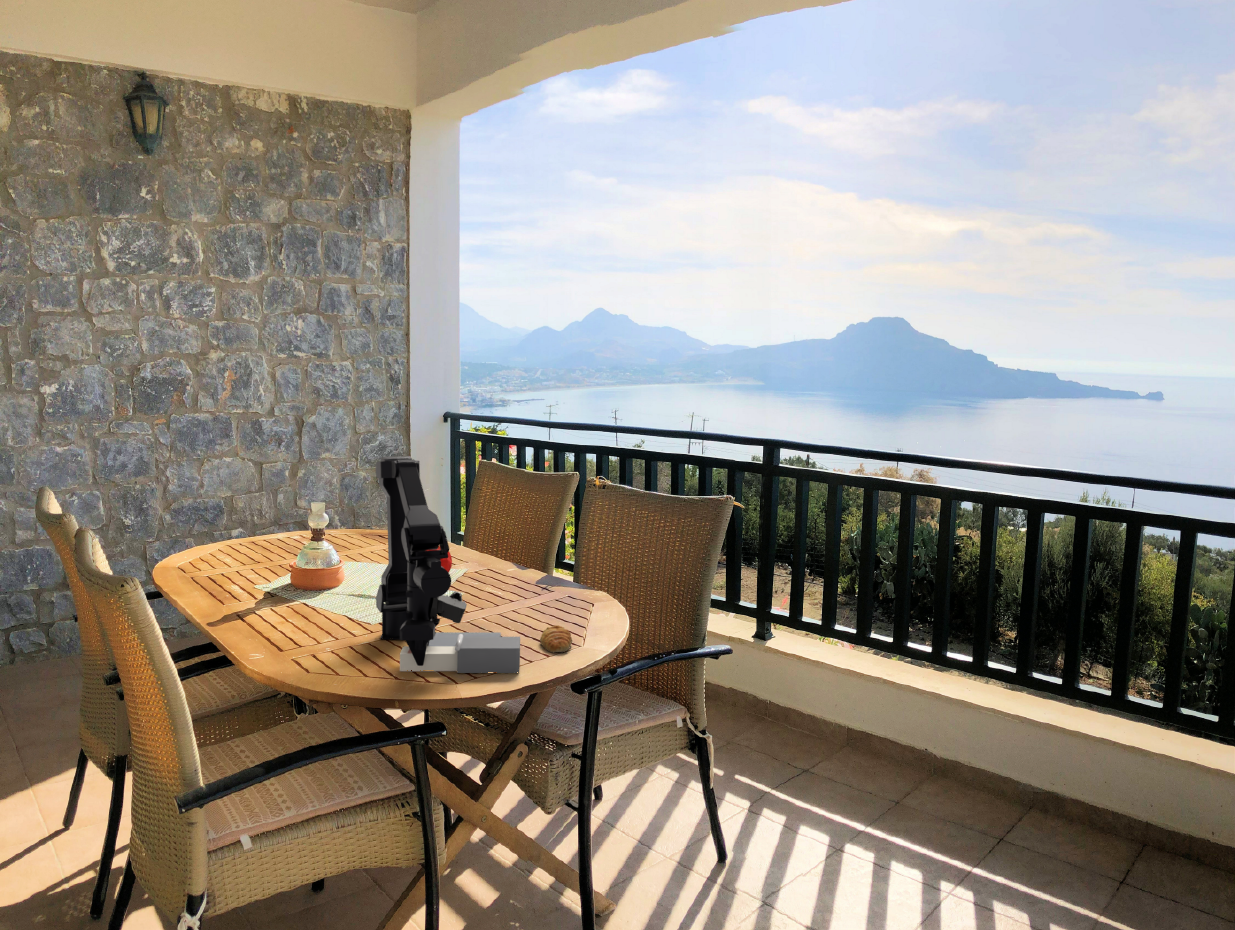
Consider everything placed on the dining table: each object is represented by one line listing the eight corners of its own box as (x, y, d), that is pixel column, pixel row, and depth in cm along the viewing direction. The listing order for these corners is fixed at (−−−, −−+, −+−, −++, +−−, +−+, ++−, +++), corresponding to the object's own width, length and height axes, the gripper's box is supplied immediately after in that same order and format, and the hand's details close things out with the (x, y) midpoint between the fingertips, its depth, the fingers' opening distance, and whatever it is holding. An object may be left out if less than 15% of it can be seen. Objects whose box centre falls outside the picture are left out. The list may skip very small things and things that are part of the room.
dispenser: (454, 673, 167) (454, 646, 166) (458, 660, 174) (458, 633, 173) (519, 673, 168) (519, 646, 167) (519, 660, 175) (520, 633, 175)
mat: (415, 654, 177) (415, 651, 177) (423, 634, 190) (423, 632, 190) (498, 654, 179) (498, 651, 178) (500, 635, 191) (500, 632, 191)
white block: (399, 671, 167) (399, 653, 167) (403, 663, 172) (403, 645, 171) (472, 670, 169) (472, 653, 168) (473, 663, 173) (474, 645, 173)
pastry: (575, 654, 181) (575, 636, 181) (543, 655, 180) (543, 638, 179) (569, 640, 190) (569, 623, 190) (538, 641, 189) (539, 624, 188)
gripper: (460, 597, 159) (459, 678, 161) (467, 572, 178) (466, 645, 180) (399, 597, 158) (399, 678, 160) (412, 572, 177) (412, 645, 178)
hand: (421, 661), depth 170 cm, fingers closed on white block, 4 cm apart
